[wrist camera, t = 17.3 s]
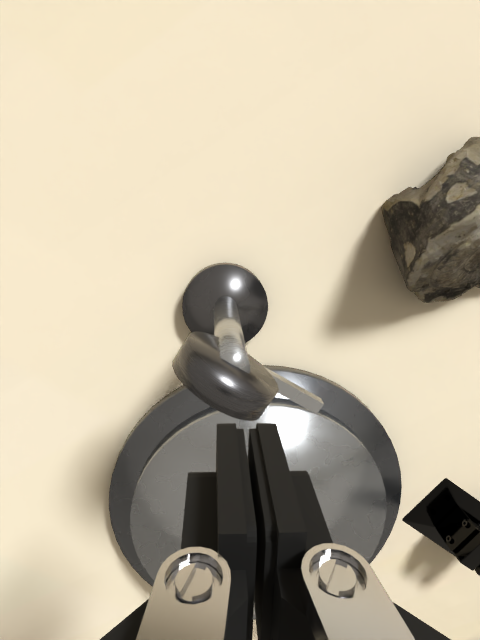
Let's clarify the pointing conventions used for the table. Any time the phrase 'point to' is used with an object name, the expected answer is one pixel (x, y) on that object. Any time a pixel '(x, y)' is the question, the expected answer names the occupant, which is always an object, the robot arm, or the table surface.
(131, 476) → the base
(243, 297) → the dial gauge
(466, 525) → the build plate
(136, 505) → the platter
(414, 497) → the table surface
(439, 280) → the fossil
